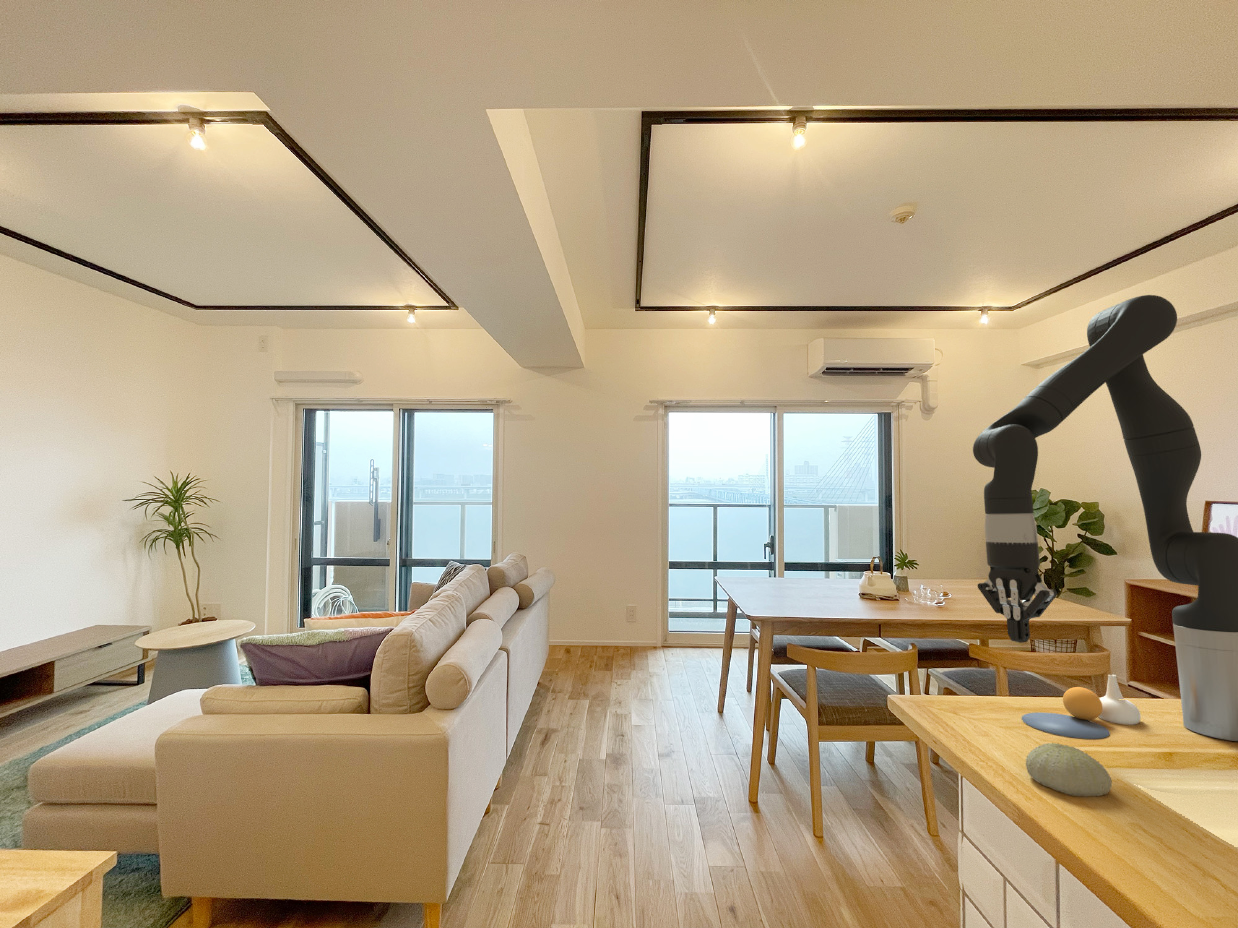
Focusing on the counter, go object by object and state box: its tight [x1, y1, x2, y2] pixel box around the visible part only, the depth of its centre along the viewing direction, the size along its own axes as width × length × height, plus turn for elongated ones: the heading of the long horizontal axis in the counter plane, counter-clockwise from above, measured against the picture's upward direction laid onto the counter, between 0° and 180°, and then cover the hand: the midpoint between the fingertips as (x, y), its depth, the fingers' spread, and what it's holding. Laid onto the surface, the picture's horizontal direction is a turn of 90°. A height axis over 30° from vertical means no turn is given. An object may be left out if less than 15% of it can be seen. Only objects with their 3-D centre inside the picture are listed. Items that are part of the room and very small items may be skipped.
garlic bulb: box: [1098, 674, 1142, 726], centre depth 101 cm, size 6×6×8 cm
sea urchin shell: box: [1025, 742, 1113, 798], centre depth 77 cm, size 9×8×8 cm
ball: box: [1062, 686, 1102, 721], centre depth 101 cm, size 6×6×6 cm
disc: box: [1021, 712, 1111, 740], centre depth 98 cm, size 12×12×1 cm
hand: (1019, 641), depth 96 cm, fingers closed
